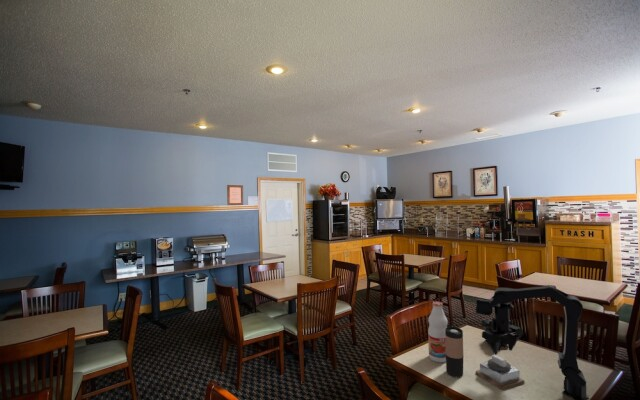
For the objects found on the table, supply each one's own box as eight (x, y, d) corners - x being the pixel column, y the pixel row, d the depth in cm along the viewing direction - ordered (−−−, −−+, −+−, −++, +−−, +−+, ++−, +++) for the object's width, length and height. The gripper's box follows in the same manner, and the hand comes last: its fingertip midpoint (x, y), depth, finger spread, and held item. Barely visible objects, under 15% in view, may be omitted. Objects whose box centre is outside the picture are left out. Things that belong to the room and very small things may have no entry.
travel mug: (448, 367, 156) (448, 325, 156) (465, 372, 151) (465, 329, 151) (443, 374, 150) (442, 330, 150) (460, 379, 145) (460, 334, 145)
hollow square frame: (519, 379, 142) (519, 369, 142) (501, 384, 138) (501, 375, 138) (497, 367, 153) (497, 358, 153) (479, 372, 149) (479, 363, 149)
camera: (514, 352, 170) (514, 333, 169) (492, 351, 171) (492, 332, 171) (503, 340, 183) (503, 322, 183) (483, 339, 185) (483, 322, 185)
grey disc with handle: (515, 376, 143) (515, 360, 143) (500, 380, 140) (500, 364, 140) (497, 366, 151) (497, 351, 151) (483, 370, 148) (483, 355, 148)
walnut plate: (524, 383, 141) (524, 380, 141) (502, 390, 137) (502, 387, 137) (496, 367, 154) (496, 365, 154) (475, 373, 150) (475, 371, 150)
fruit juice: (445, 354, 169) (444, 300, 169) (451, 363, 159) (450, 306, 159) (426, 353, 169) (425, 300, 169) (431, 363, 160) (430, 306, 160)
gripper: (501, 308, 156) (502, 341, 156) (471, 314, 149) (472, 348, 149) (523, 316, 146) (524, 351, 146) (492, 323, 139) (493, 359, 139)
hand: (502, 352), depth 145 cm, fingers open, 9 cm apart
